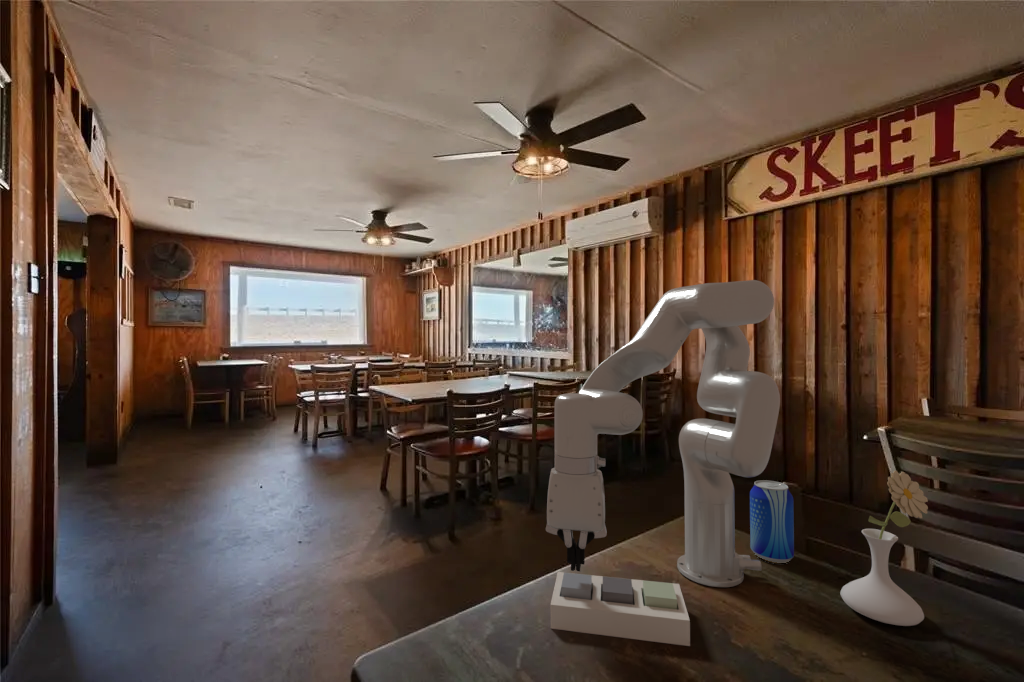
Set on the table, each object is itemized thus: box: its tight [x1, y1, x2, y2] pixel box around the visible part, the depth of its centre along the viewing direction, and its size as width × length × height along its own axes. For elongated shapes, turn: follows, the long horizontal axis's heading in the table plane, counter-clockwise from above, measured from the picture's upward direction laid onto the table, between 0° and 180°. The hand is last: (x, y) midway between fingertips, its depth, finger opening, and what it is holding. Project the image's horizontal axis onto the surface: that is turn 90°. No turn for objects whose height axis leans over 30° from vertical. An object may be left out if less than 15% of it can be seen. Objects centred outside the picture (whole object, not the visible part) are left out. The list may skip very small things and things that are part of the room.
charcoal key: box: [602, 576, 633, 605], centre depth 78 cm, size 5×5×3 cm
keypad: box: [550, 571, 691, 647], centre depth 78 cm, size 22×11×4 cm, turn 78°
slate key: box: [561, 572, 593, 600], centre depth 80 cm, size 5×5×3 cm
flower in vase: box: [839, 470, 929, 627], centre depth 79 cm, size 13×11×25 cm
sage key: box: [643, 580, 677, 609], centre depth 77 cm, size 5×5×3 cm
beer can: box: [749, 479, 795, 564], centre depth 100 cm, size 8×8×16 cm
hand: (575, 567), depth 80 cm, fingers closed
